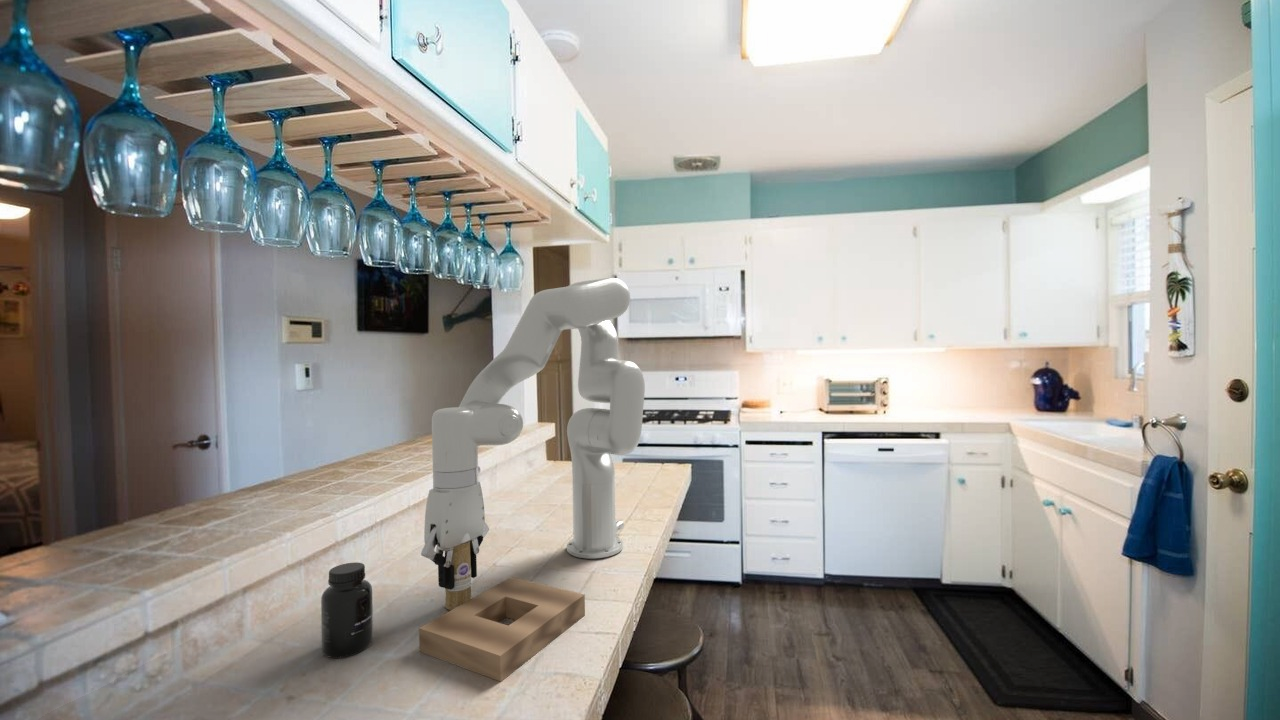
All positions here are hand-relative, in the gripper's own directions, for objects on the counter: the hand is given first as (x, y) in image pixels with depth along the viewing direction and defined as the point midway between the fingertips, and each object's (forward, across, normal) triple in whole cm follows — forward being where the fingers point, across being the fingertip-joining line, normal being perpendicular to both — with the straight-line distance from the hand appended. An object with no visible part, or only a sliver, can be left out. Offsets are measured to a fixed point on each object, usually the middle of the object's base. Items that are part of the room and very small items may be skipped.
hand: (458, 580), depth 92 cm
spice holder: (+4, +3, +14) cm, 15 cm away
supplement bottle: (+5, +17, -5) cm, 18 cm away
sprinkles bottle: (+5, 0, 0) cm, 5 cm away
